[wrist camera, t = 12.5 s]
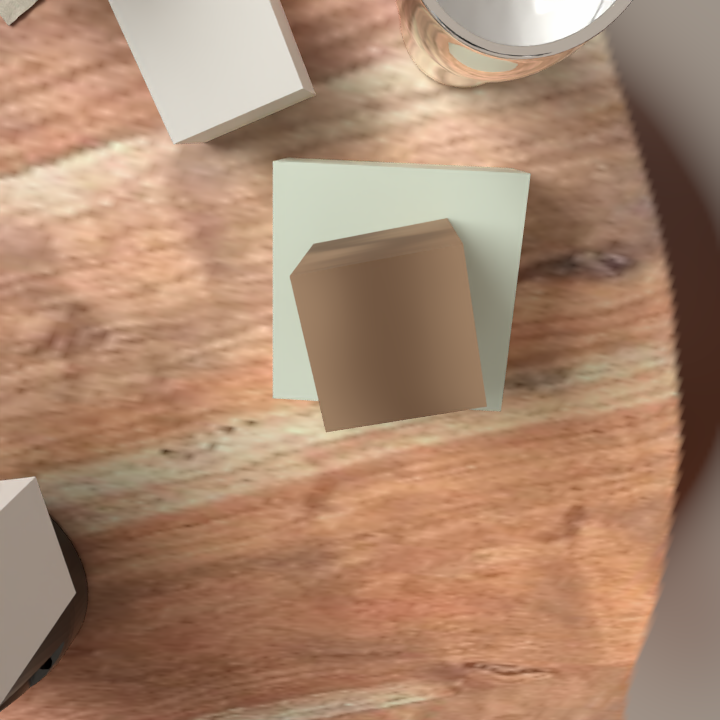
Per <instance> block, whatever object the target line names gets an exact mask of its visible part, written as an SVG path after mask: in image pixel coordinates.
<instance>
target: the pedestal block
mask: <svg viewBox="0 0 720 720" xmlns="http://www.w3.org/2000/svg"><path fill="white" fill-rule="evenodd" d="M530 175H531V174H530V173H527V172H523V171H520V170H516V169H513V168H498V167H477V166H457V165H436V164H415V163H394V162H373V161H352V160H331V159H310V158H284V159H280V160H276V161H273V398H278V399H296V400H313V401H319V400H318V396H317V391H316V387H315V383H314V379H313V374H312V370H311V366H310V362H309V357H308V353H307V349H306V345H305V340H304V336H303V332H302V328H301V323H300V319H299V315H298V310H297V306H296V302H295V298H294V293H293V289H292V285H291V281H290V275H291V274H292V272H293V271H294V269H295V268H296V267H297V265H298V264H299V263H300V261H301V260H302V259H303V257H304V256H305V254H306V253H307V252H308V250H309V249H310V248H311V246H312V245H313V244H315V243H320V242H325V241H331V240H336V239H341V238H346V237H351V236H357V235H362V234H367V233H372V232H377V231H382V230H388V229H393V228H398V227H403V226H409V225H414V224H419V223H424V222H429V221H435V220H440V219H445V218H447V219H448V220H449V222H450V223H451V225H452V227H453V228H454V230H455V231H456V233H457V235H458V236H459V238H460V240H461V241H462V243H463V246H464V253H465V260H466V267H467V274H468V280H469V287H470V294H471V301H472V308H473V315H474V321H475V328H476V335H477V342H478V349H479V356H480V362H481V369H482V376H483V383H484V390H485V397H486V403H487V407H481V408H475V409H469V410H485V411H501V406H502V398H503V390H504V382H505V374H506V366H507V359H508V351H509V343H510V335H511V327H512V319H513V311H514V303H515V295H516V287H517V279H518V271H519V263H520V255H521V247H522V239H523V231H524V223H525V215H526V207H527V199H528V191H529V183H530Z"/></svg>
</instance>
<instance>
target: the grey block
mask: <svg viewBox="0 0 720 720" xmlns="http://www.w3.org/2000/svg"><path fill="white" fill-rule="evenodd" d="M108 1H109V3H110V5H111V7H112V10H113V12H114V14H115V16H116V18H117V21H118V23H119V25H120V27H121V29H122V32H123V34H124V36H125V38H126V40H127V43H128V45H129V47H130V49H131V52H132V54H133V56H134V58H135V60H136V63H137V65H138V67H139V69H140V71H141V74H142V76H143V78H144V80H145V82H146V85H147V87H148V89H149V91H150V93H151V96H152V98H153V100H154V102H155V104H156V107H157V109H158V111H159V113H160V115H161V118H162V120H163V122H164V124H165V126H166V129H167V131H168V133H169V135H170V137H171V140H172V142H173V144H191V143H206V142H208V141H210V140H213V139H215V138H217V137H220V136H222V135H224V134H227V133H229V132H231V131H234V130H236V129H238V128H241V127H243V126H245V125H248V124H250V123H252V122H255V121H257V120H259V119H262V118H264V117H266V116H269V115H271V114H273V113H276V112H278V111H280V110H283V109H285V108H287V107H290V106H292V105H294V104H297V103H299V102H301V101H304V100H306V99H308V98H311V97H313V96H315V95H316V94H315V91H314V88H313V86H312V83H311V81H310V78H309V75H308V73H307V70H306V67H305V65H304V62H303V60H302V57H301V54H300V52H299V49H298V47H297V44H296V41H295V39H294V36H293V33H292V31H291V28H290V26H289V23H288V20H287V18H286V15H285V12H284V10H283V7H282V5H281V2H280V0H108Z"/></svg>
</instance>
